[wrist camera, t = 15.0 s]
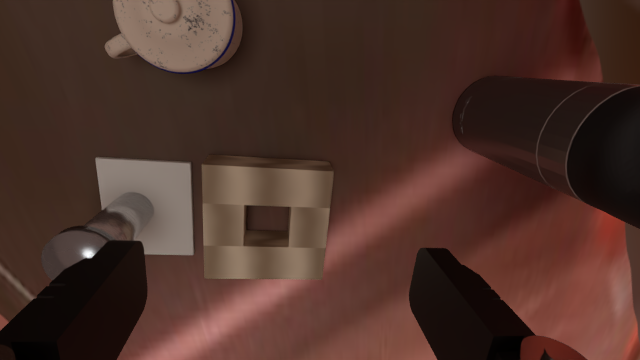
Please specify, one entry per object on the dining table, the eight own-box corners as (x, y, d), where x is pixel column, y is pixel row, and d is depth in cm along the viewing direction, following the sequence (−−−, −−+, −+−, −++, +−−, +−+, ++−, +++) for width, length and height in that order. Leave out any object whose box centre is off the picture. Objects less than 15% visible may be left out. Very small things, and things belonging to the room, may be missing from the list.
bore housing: (329, 161, 40) (333, 171, 37) (318, 261, 45) (322, 279, 41) (209, 154, 39) (201, 164, 35) (211, 259, 43) (204, 278, 39)
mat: (191, 161, 39) (190, 163, 38) (194, 252, 42) (193, 255, 42) (98, 156, 37) (95, 158, 37) (110, 250, 41) (107, 253, 41)
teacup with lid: (218, -43, 32) (187, -97, 22) (260, 50, 36) (252, 44, 25) (107, 8, 33) (21, -19, 22) (158, 96, 36) (106, 110, 25)
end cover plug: (159, 186, 39) (114, 233, 28) (162, 233, 41) (121, 292, 30) (103, 184, 38) (35, 231, 27) (109, 231, 40) (48, 292, 29)
